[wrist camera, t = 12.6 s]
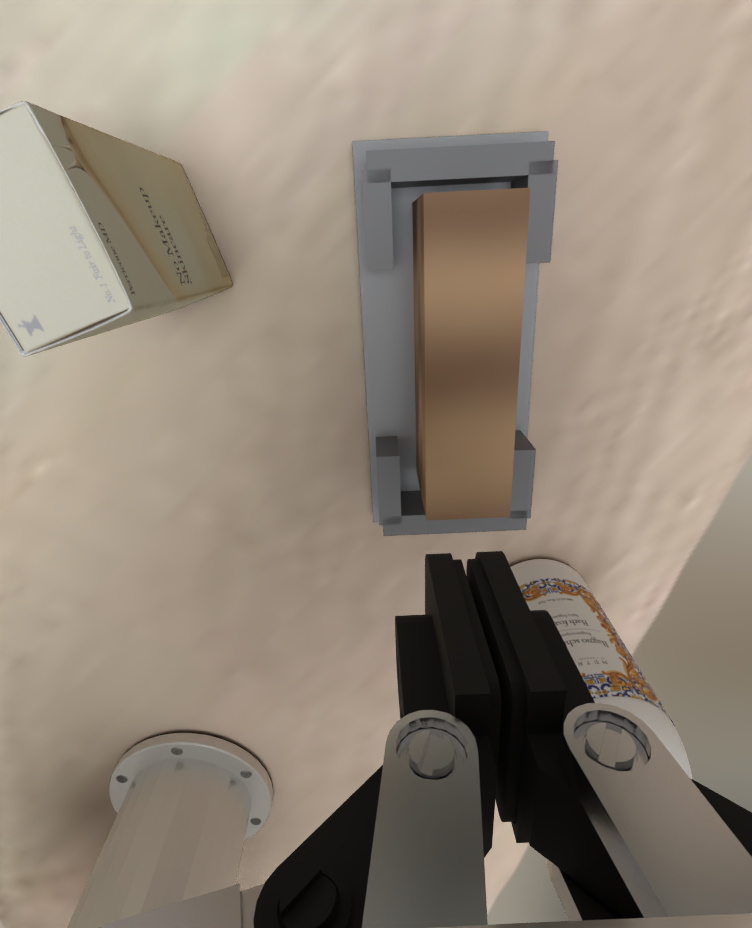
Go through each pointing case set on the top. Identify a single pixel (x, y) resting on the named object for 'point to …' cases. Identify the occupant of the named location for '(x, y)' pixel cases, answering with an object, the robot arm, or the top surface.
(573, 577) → the bath foam
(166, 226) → the skincare box
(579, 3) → the top surface
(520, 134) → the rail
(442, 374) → the slat
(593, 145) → the top surface
